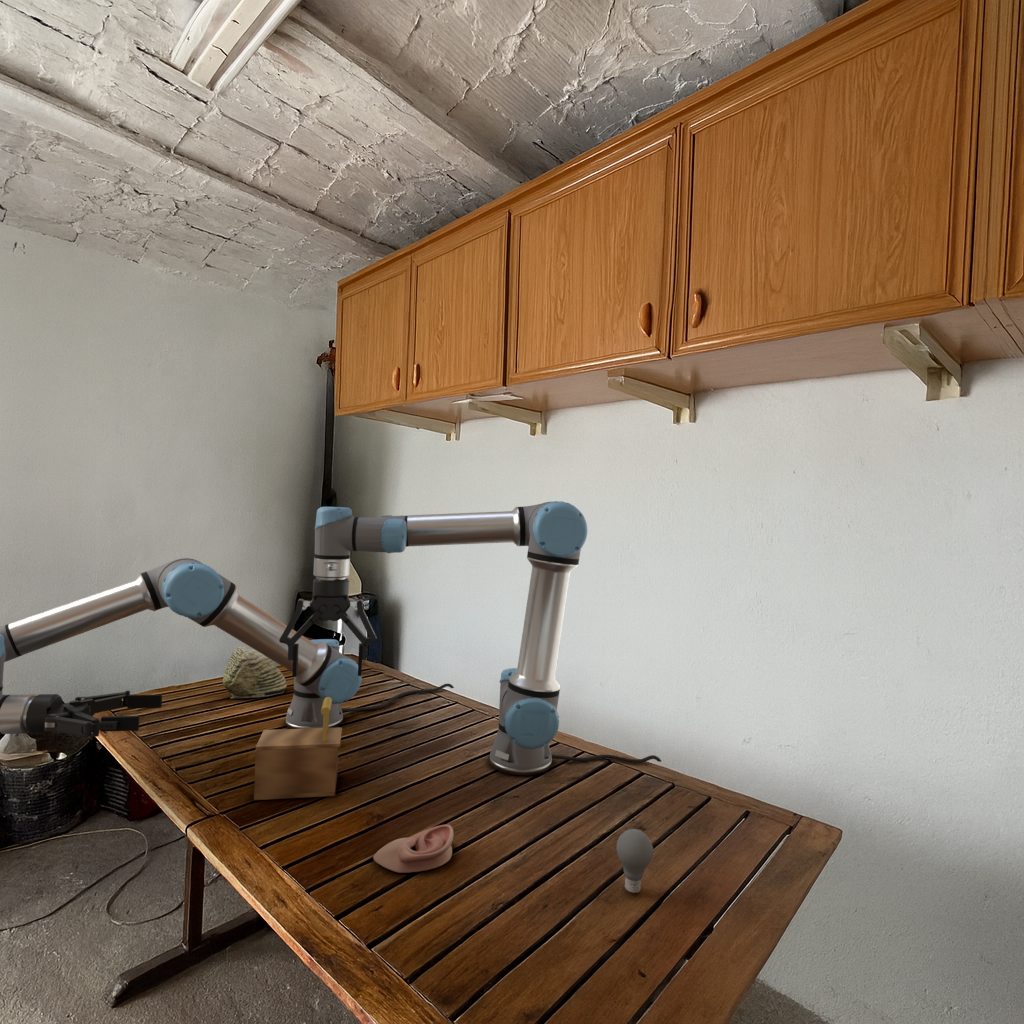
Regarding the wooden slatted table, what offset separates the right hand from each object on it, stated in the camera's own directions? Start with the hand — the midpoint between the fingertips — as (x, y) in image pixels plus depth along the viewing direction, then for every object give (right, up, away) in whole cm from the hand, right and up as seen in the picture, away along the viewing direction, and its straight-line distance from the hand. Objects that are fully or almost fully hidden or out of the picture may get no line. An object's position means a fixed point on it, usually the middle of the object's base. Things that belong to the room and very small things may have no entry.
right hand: (327, 674), depth 138 cm
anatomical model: (+23, -26, -25) cm, 43 cm away
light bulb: (+60, -28, -32) cm, 74 cm away
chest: (-6, -24, -1) cm, 25 cm away
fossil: (-40, -22, +60) cm, 75 cm away
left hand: (-34, -6, -7) cm, 36 cm away
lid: (-6, -14, -1) cm, 15 cm away
